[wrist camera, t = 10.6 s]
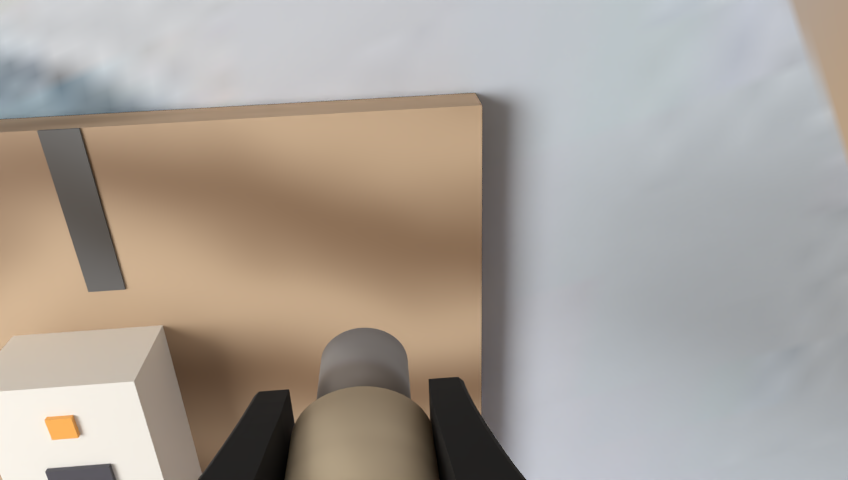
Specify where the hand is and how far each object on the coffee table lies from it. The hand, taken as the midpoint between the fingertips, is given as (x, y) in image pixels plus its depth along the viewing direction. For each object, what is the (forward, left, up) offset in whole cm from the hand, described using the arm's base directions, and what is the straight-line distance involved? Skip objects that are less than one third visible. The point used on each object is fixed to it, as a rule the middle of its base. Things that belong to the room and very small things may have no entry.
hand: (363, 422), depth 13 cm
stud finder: (-7, +10, -9) cm, 15 cm away
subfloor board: (-6, +6, -10) cm, 13 cm away
